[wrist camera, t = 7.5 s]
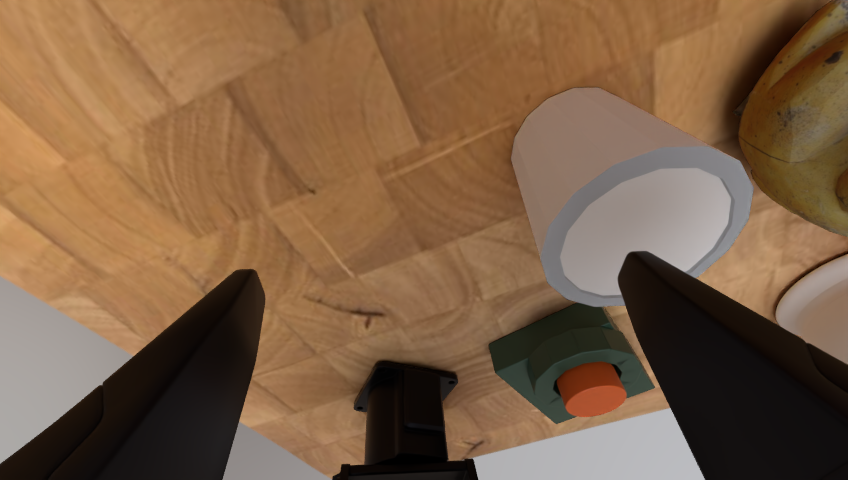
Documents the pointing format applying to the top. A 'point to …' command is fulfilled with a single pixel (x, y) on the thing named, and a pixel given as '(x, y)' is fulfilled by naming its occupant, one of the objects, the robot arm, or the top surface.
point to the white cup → (622, 192)
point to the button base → (565, 356)
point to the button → (591, 389)
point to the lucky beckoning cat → (804, 122)
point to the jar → (819, 308)
